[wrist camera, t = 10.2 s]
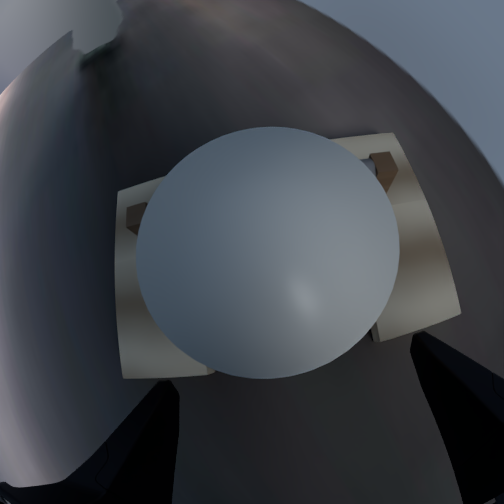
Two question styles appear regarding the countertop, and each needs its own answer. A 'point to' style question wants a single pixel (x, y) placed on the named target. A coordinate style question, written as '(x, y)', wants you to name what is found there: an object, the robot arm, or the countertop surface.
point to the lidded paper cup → (267, 252)
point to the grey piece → (388, 323)
